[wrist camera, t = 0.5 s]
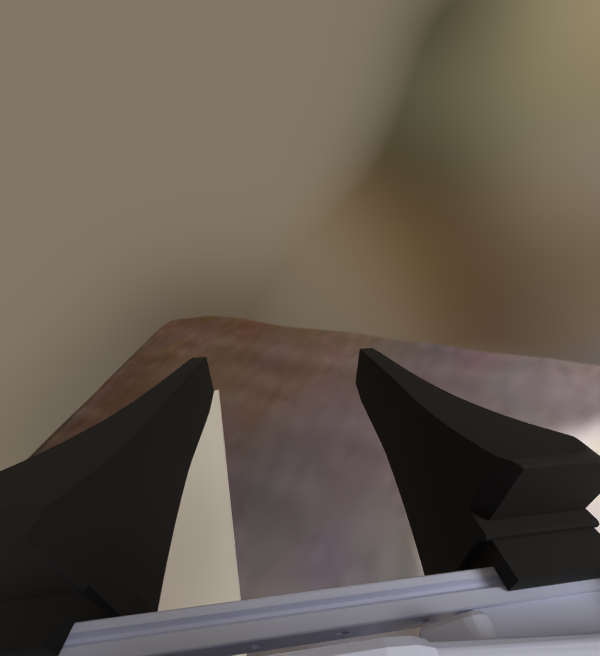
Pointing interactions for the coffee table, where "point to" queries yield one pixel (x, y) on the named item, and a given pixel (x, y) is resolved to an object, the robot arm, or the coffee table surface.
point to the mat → (203, 529)
